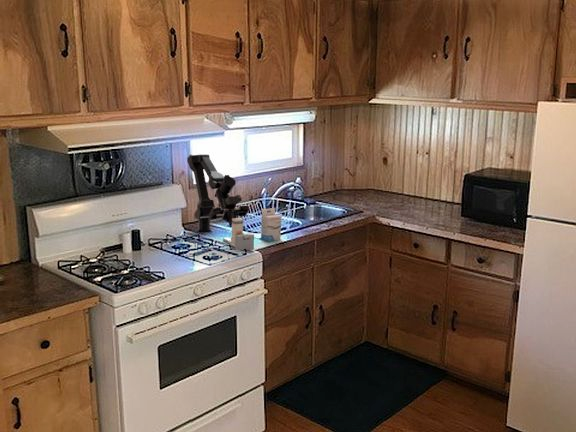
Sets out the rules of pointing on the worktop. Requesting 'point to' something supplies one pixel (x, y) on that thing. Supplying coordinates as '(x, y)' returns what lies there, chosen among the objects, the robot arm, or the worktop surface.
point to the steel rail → (227, 240)
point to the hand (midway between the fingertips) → (235, 227)
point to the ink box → (270, 225)
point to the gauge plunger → (243, 235)
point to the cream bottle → (236, 228)
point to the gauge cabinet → (244, 242)
